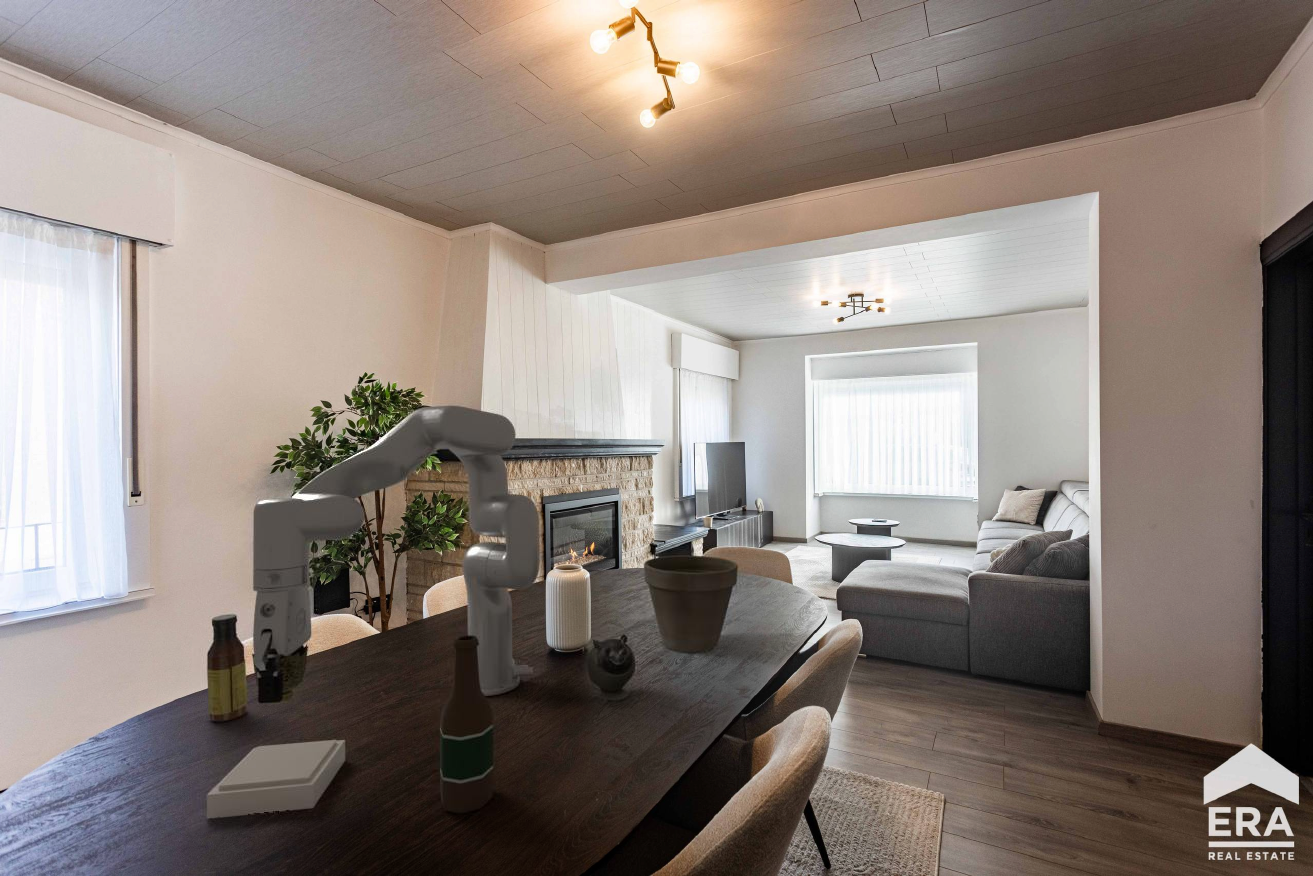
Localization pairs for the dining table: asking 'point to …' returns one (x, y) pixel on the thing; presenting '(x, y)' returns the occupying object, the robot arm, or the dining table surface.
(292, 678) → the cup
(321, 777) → the pedestal
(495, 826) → the dining table surface
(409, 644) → the dining table surface
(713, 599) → the plant pot
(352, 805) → the dining table surface
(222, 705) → the sauce bottle
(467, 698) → the beer bottle
